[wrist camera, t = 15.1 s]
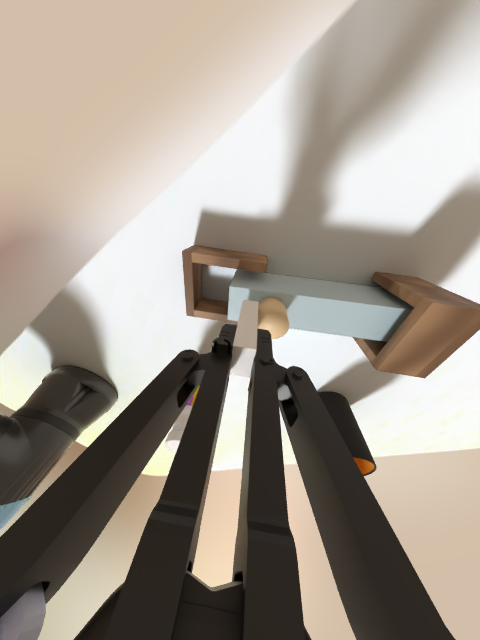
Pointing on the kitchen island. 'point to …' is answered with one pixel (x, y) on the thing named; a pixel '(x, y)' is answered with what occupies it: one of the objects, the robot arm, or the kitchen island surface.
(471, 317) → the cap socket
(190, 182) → the kitchen island surface
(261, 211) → the kitchen island surface
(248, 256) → the brown wooden u-shaped frame
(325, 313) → the slat
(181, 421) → the supplement bottle
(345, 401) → the mug
